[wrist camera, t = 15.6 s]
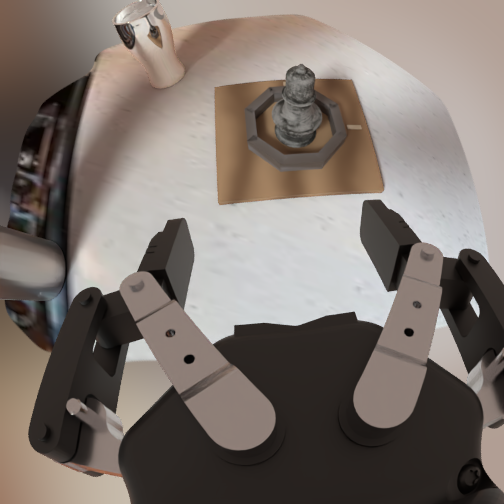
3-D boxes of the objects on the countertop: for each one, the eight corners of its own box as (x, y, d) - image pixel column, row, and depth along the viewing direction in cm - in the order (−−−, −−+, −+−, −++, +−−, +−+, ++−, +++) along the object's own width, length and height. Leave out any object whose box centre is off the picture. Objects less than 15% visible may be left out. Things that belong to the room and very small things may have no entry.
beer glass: (193, 77, 37) (166, 6, 22) (153, 97, 37) (113, 32, 22) (180, 56, 38) (154, -8, 23) (144, 75, 38) (108, 14, 23)
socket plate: (219, 204, 33) (214, 196, 30) (216, 91, 36) (212, 78, 33) (381, 192, 32) (389, 183, 29) (350, 83, 35) (353, 71, 32)
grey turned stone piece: (309, 156, 32) (323, 94, 20) (264, 140, 33) (259, 74, 21) (324, 121, 33) (340, 57, 21) (282, 107, 34) (282, 40, 22)
